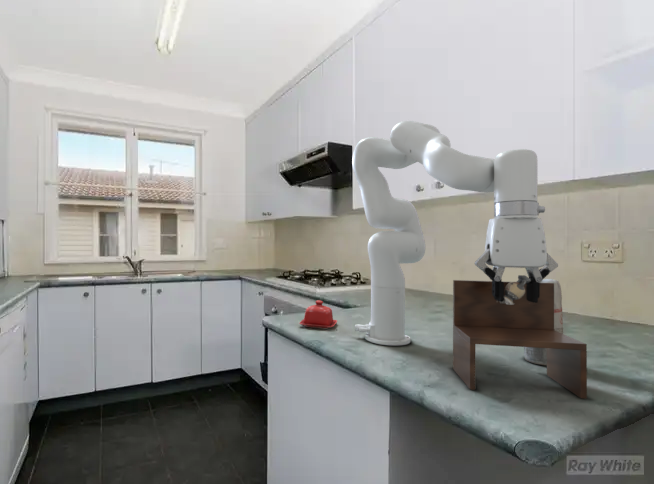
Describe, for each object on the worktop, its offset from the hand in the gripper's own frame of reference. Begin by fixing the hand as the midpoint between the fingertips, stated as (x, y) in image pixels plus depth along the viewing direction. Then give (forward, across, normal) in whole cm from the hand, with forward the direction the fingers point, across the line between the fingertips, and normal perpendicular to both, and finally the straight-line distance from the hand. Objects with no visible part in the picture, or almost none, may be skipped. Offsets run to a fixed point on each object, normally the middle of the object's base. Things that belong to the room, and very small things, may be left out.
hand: (515, 300), depth 75 cm
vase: (+1, 0, 0) cm, 1 cm away
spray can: (+17, -13, -17) cm, 27 cm away
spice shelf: (+17, 0, -1) cm, 17 cm away
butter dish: (+17, +43, -43) cm, 63 cm away
